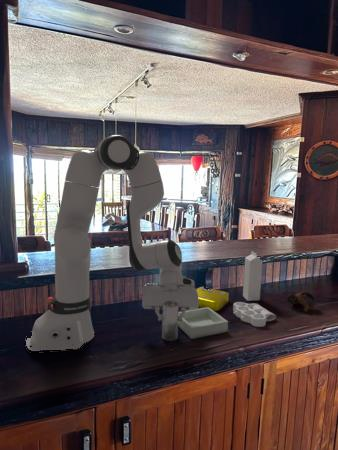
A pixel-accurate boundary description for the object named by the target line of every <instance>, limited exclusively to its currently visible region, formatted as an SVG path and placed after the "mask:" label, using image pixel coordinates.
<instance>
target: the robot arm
mask: <svg viewBox="0 0 338 450" xmlns="http://www.w3.org/2000/svg"><path fill="white" fill-rule="evenodd" d="M66 170H67V171H66V175H65V178H64V179H65V180H64V185H63V189H62V194H61V195H62V196H61V201H60V206H59V211H58V216H57V220H56V224H55V227H54V228H55V230H54V235H53V242H54V243H53V245H54V280H55V281H54V285H55V297H54V298H53V296H49V297H47V299H46V301H47V304H48V305H49V307H48V308H49V309H48V310H47V311H46V312H45V313H43V314H42V315H40V317H38V318H37V319H36V320H34V321H35V322H34V324H33V326H32V331H31V332H32V336H31V338H27V340H26V339H25V341H26V345H25V347H26V346H27V348H28V349H29V350H31V351H40V350H41V351H42V350H61V351H67V350H66V349H73V350H79V349H81V348H82V347H83V346H84V345H85V344H87V343H88V342H90V341H92V339H93V338H94V337H95V335H94V333H95V330H94V327H93V323H92V317H91V310H92V297H91V295H90V268H91V267H90V266H91V252H92V251H91V250H92V249H91V248H92V243H91V239H90V237H89V231H90V228H91V227H90V226H91V223H92V221H93V220H92V219H93V216H94V214H95V211H96V206H97V203H98V196H99V190H100V186H101V185H100V184H101V180H102V178H103V177H102V176H103V174H104V172H105V171H107V170H108V171H109V170H111V171H117V170H118V171H119V170H120V171H124V173H125V174H126V175H127V177H128V180H129V185H130V189H131V199H130V201H129V202H128V203H127V205H126V224H127V225H126V226H127V235H128V236H127V237H128V261H129V265H130V267H132V268H133V269H134V270H136V271H137V272H145V271H148V270H153V269H159V274H158V283H146V284H144V285H143V286H142V287H141V294H142V299H141V307H142V308H143V310H155V314H156V315H157V317H158V318H157V320H158V322H162V314H161V313H160V310H163V303H164V302H167V301H174V302H177V303H178V304H179V310H178V311H180V312H182V313H181V315H178V321H182V317H183V315H184V313H185V311H187V310H197V309H199V308H200V307H199V299H198V293H197V290H196V289H197V288H196V287H195V280H194V279H191V278H188V277H185V276H183V273H182V269H183V259H182V258H183V257H182V251H181V248H180V246H179V244H177V242H175V241H174V240H173V239H162V240H156V241H151V242H147V243H144V242H143V241H142V231H141V221H142V220H141V219H142V217H143V216H144V215H146V214H147V213H148V212H151V211H152V210H154V209H155V208H156V207H158V206H159V205H160V203H161V202H162V200H163V199H164V196H165V189H164V184H163V179H162V176H161V172H160V169H159V166H158V163H157V161H156V158H155V156H154V155H153V154H152V153H151V152H148V151H145V150H142V151H139V150H138V149H137V147H135V145H134V144H133V143H132V142H131V141H130V139H128V138H127V137H125V136H123V135H121V134H113V135H108V136H106V137H104V138H103V139H102V140H100V142H99V143H98V144H97V145H96V146H95V148H94V149H93V150H87V149H81V150H78V151H75V152H74V153H73V154H72V156H71V159H70V161H69V163H68V167H67V169H66ZM86 342H87V343H86ZM84 343H85V344H84ZM83 344H84V345H83ZM82 345H83V346H82ZM30 346H32V347H30ZM81 346H82V347H81ZM80 347H81V348H80ZM27 348H26V349H27ZM78 348H79V349H78Z"/></svg>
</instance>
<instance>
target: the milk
mask: <svg viewBox="0 0 338 450" xmlns="http://www.w3.org/2000/svg"><path fill="white" fill-rule="evenodd" d="M250 252H251V253H250V254H249V255H247V256H245V258H244V268H243V269H244V271H243V287H242V288H243V289H242V297H243V298H245V300H246V301H248V302H249V301H250V302H251V301H253V302H254V301H260V299H261V288H262V287H261V285H262V275H263V274H262V272H263V260H262V259H260V258H259V257H258V253H256V252H254V251H252V250H251V251H250Z"/></svg>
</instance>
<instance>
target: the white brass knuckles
mask: <svg viewBox="0 0 338 450" xmlns="http://www.w3.org/2000/svg"><path fill="white" fill-rule="evenodd" d="M232 306H233V308H232V311H233V312H232V313H233V314H234V315H235V316H236V318H239V319H240V321H242V322H244V323H249V324H250V325H252V327H253V326H254V327H256V328H257V327H258V328H260V327H266V324H267V322H272V321H275V319H277V315H276V314H274V313H273V312H271V311H269V310H267V309H266V308H264V307H263V306H261V305H260V304H259V303H254V302H253V303H246V302H245V301H243V302H242V301H235V302H234V303H233V305H232Z"/></svg>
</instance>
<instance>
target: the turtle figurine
mask: <svg viewBox="0 0 338 450" xmlns="http://www.w3.org/2000/svg"><path fill="white" fill-rule="evenodd" d="M303 295H305V296H306V298H310V299H311V300H312V301H311V302H309V303H308V301H307V300H306V299H305V298H303ZM285 299H286V301H287V303H289V304H290V306H292V307H294V304H298V305H299V304H300V305H301V304H302V305H303V306H304V308H303V309H302V310H303V312H306V313H307V312H308V311H310V310H312V309H314V308H315V305H316V302H317V301H316V298H315V297H314V295H313V294H312V293H310V292H308V291H305V290H303V291H300V292H298V293H295V294H293V293H289V294H287V296H286V298H285Z"/></svg>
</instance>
